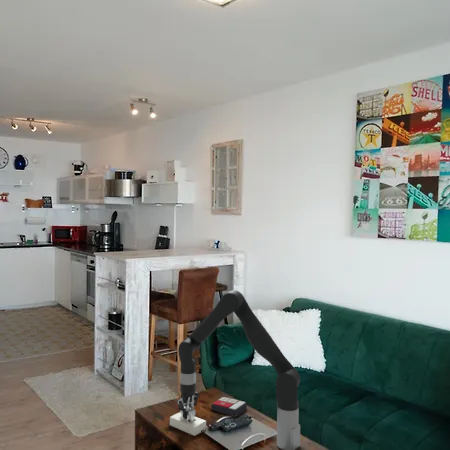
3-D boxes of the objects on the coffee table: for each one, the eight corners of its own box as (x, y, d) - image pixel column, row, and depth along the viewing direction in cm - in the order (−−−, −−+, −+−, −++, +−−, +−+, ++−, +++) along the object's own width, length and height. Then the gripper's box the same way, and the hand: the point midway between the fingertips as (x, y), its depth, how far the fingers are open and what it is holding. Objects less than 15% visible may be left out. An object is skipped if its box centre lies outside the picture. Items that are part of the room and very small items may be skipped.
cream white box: (206, 429, 215) (206, 420, 215) (194, 435, 209) (194, 427, 208) (181, 419, 225) (181, 411, 225) (169, 425, 219) (169, 416, 219)
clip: (195, 424, 216) (195, 409, 215) (191, 426, 213) (191, 411, 213) (184, 419, 220) (184, 405, 220) (180, 422, 218) (180, 407, 217)
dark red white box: (222, 395, 245) (246, 401, 237) (223, 403, 245) (247, 409, 237) (210, 403, 236) (235, 408, 228) (211, 411, 236) (235, 417, 228)
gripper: (183, 387, 208) (183, 425, 209) (203, 378, 219) (203, 414, 220) (171, 383, 213) (171, 420, 213) (192, 375, 224) (192, 409, 224)
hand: (187, 417), depth 217 cm, fingers closed on clip, 3 cm apart
